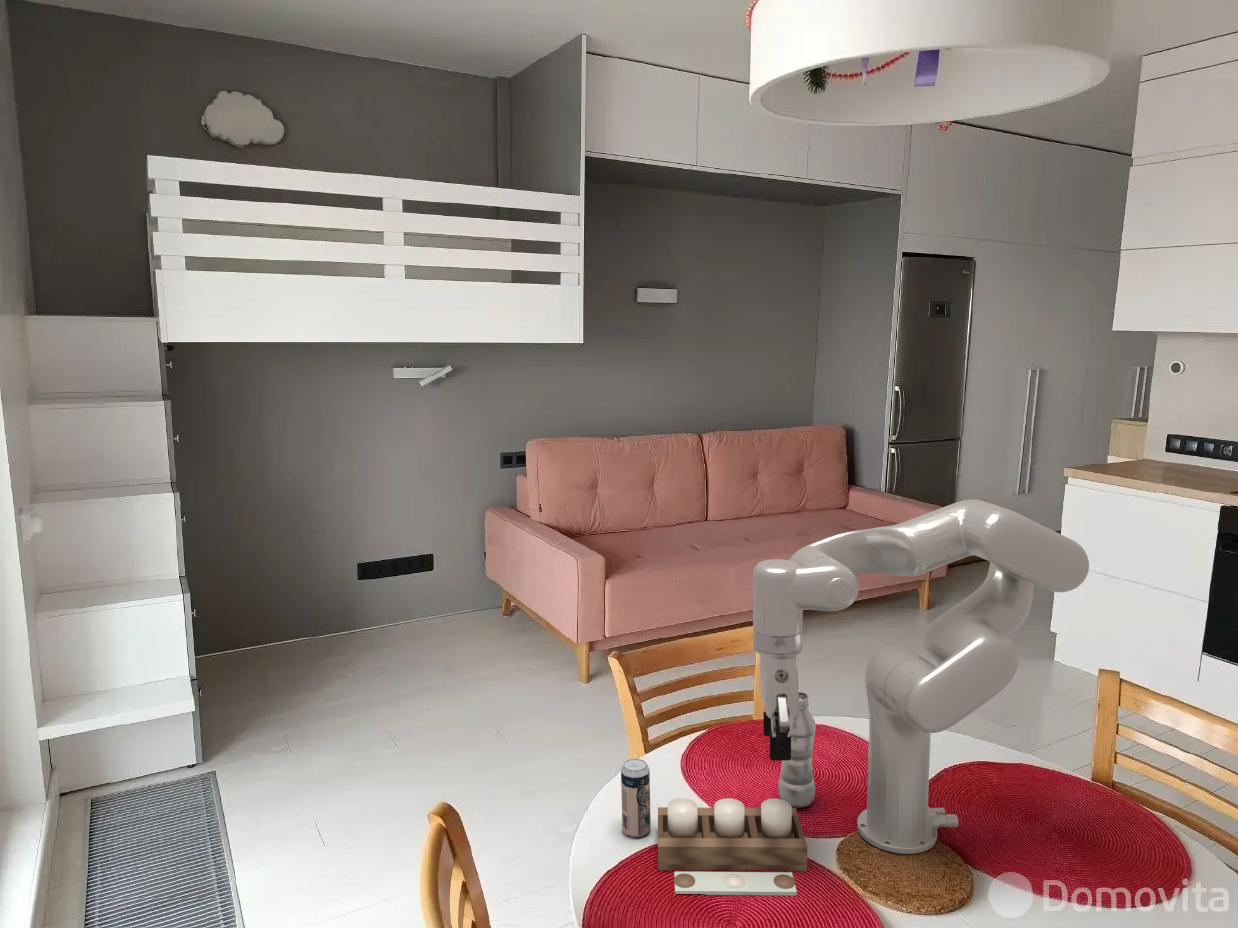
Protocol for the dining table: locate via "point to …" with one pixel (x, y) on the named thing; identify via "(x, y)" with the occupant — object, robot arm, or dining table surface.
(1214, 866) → the dining table surface
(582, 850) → the dining table surface
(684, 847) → the wooden compartment tray
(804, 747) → the plastic bottle
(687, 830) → the button
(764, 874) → the card
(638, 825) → the beer can
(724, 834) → the button mid
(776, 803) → the button
